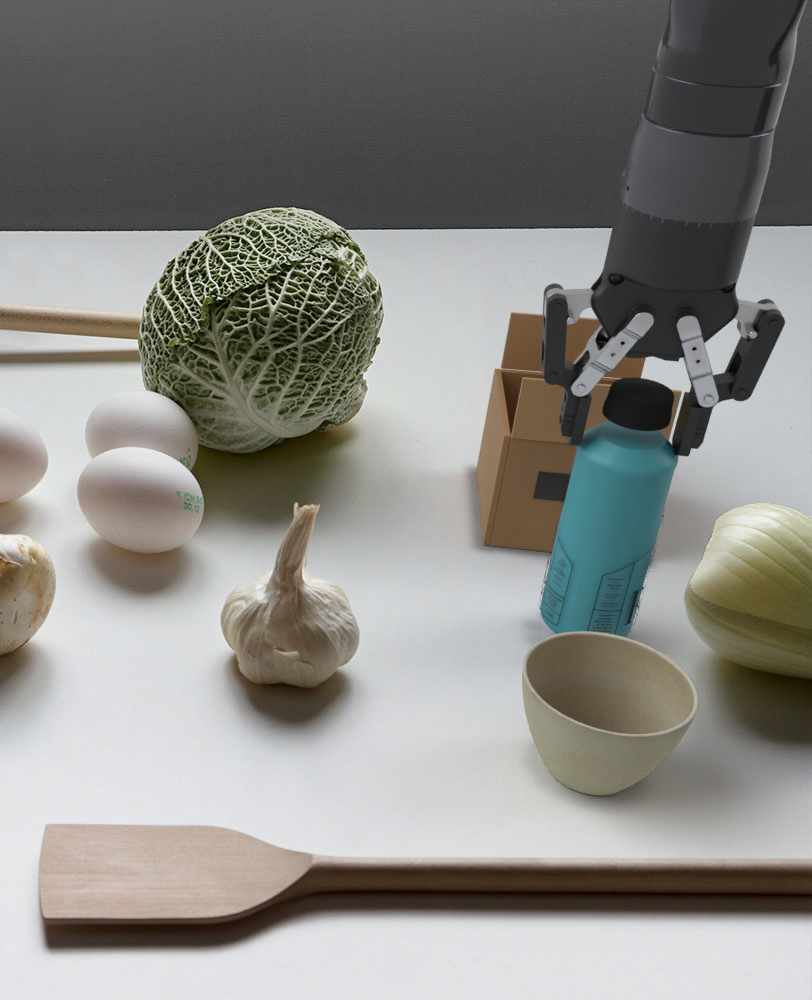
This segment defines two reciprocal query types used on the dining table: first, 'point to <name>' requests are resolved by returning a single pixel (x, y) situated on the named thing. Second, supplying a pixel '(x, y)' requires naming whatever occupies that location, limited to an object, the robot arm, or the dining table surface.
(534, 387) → the carton
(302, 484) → the dining table surface
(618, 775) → the beige bowl
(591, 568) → the beverage bottle
